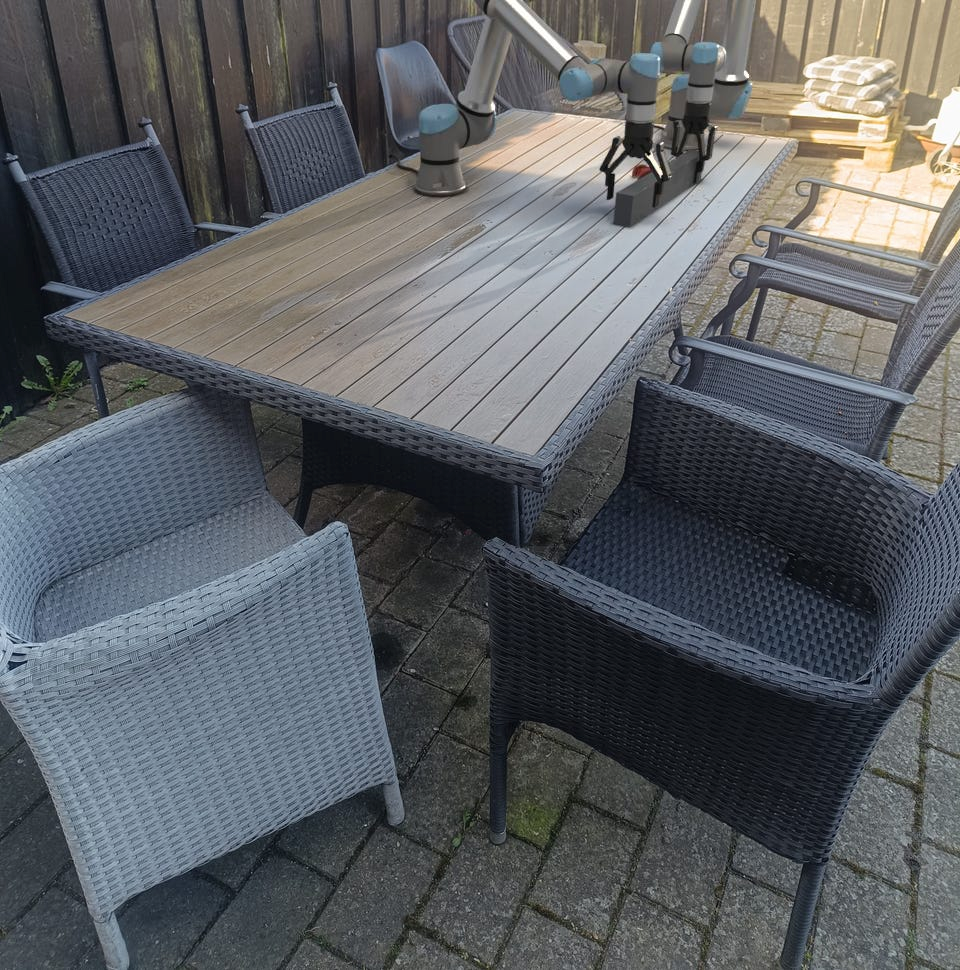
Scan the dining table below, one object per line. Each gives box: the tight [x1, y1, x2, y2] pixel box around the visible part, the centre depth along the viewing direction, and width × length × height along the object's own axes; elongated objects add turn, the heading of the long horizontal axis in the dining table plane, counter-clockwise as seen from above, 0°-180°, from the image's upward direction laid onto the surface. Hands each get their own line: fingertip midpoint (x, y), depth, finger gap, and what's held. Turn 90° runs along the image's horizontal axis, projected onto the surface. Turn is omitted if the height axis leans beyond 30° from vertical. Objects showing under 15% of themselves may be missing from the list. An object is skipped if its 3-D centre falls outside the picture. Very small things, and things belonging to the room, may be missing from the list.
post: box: [612, 149, 703, 228], centre depth 247 cm, size 54×5×8 cm, turn 147°
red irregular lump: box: [631, 163, 652, 180], centre depth 267 cm, size 6×4×8 cm
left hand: (632, 202), depth 232 cm, fingers open, 13 cm apart
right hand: (687, 180), depth 264 cm, fingers closed on post, 5 cm apart
